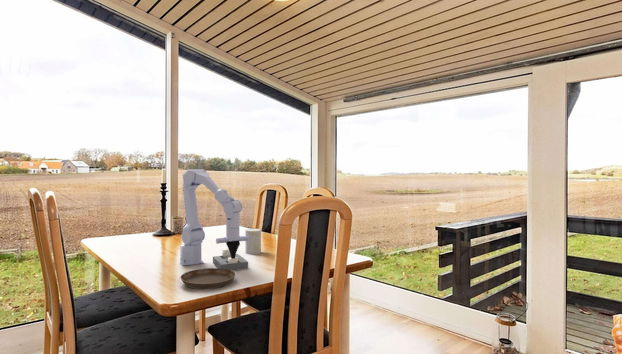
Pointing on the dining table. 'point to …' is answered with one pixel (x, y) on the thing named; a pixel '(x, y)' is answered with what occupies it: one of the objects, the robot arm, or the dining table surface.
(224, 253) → the far knob
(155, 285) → the dining table surface
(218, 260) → the slate mount
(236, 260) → the near knob
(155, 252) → the dining table surface
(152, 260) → the dining table surface
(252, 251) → the cup
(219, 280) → the plant saucer
